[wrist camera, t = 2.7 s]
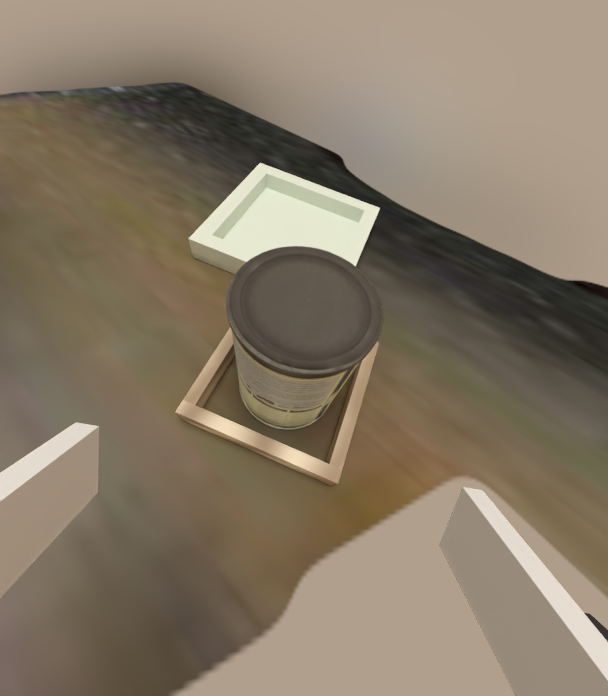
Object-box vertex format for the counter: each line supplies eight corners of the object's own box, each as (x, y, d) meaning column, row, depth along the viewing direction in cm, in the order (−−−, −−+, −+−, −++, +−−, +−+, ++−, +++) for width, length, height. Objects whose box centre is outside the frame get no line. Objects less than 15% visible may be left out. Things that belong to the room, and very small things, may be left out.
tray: (193, 257, 37) (188, 238, 35) (259, 181, 47) (260, 162, 45) (335, 315, 36) (341, 300, 34) (372, 224, 46) (379, 208, 44)
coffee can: (238, 342, 32) (227, 241, 20) (326, 340, 34) (366, 247, 22) (237, 435, 27) (223, 376, 15) (340, 427, 29) (401, 370, 17)
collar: (181, 419, 27) (175, 411, 25) (253, 304, 35) (253, 291, 33) (331, 485, 26) (337, 483, 24) (371, 353, 34) (379, 342, 32)
